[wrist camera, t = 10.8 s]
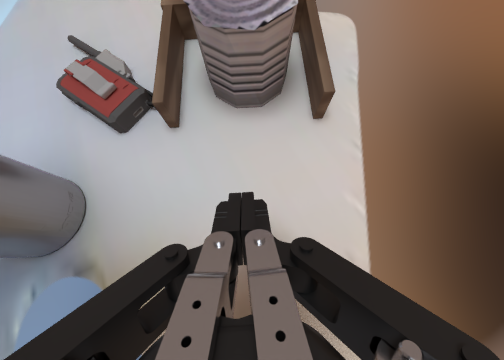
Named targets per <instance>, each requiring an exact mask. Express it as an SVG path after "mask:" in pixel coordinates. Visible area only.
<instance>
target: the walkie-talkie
mask: <svg viewBox="0 0 504 360" xmlns="http://www.w3.org/2000/svg"><path fill="white" fill-rule="evenodd" d="M68 40H69V42H71V43H72V44H74V45H76V46H77V47H79V48H81V49H82V50H84V51H85V52H87V53H89V54H90V55H92V56H89V57H85V58H83V59H82V60H81V61H79V60H77V59H76V60H75V61H74V62H73V63H72V64H70V65H69V66H68V67H67V68H66V69H64V71H65V72H66V73H65V74H63V75H62V77H60V78H59V79H58V81H57V84H56V86H57V88H58V89H59V90H61V91H62V94H64V95H65V96H66V97H67V98H69V99H70V100H72V101H74V102H75V103H76V104H77V105H79V106H80V107H83V108H85V109H86V110H88V111H89V112H91V113H92V114H93V115H95V116H97V117H98V118H99V119H101V120H102V121H103V122H105V123H106V124H108V125H109V126H111V127H112V128H114V129H115V130H117V131H118V132H119V133H126V132H128V131H129V130H130V129H131V128H132V127H133V126H134V125H135V124H136V123H137V122H138V121H139V120H140V119H141V118H142V117H143V115H144V114H145V113H146V112H147V111H148V110H149V109H150V108H151V107H155V106H154V105H153V104H152V98H153V93H151V92H150V91H148V90H146V89H145V88H143V87H142V86H140V85H138V84H137V83H135V80H134V79H133V77H132V74H131V71H130V69H129V68H128V66H127V65H126V64H125V62H124V61H122V60H121V59H119V58H117V57H116V56H114V55H112V54H111V53H110V52H109V51H108V50H104V51H103V52H100V51H97V50H95V49H94V48H92V47H90V46H89V45H87V44H85V43H84V42H82V41H80V40H79V39H77V38H75V37H74V36H72V35H70V36H68ZM93 56H94V57H93ZM150 96H151V97H152V98H151V97H150Z"/></svg>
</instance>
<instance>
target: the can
mask: <svg viewBox="0 0 504 360" xmlns="http://www.w3.org/2000/svg"><path fill="white" fill-rule="evenodd" d="M183 1H184V2H185V3H186V5H187V6H188V7H189V10H190V14H191V17H192V21H193V24H194V28H195V31H196V35H197V38H198V42H199V45H200V49H201V52H202V56H203V59H204V63H205V66H206V70H207V73H208V77H209V80H210V82H211V85H212V87H213V90H214V93H215V95H216V97H217V98H219V99H221V100H223V101H224V102H226V103H228V104H230V105H232V106H234V107H235V108H247V107H262V106H263V105H265V104H266V103H268V102H269V101H271V100H272V99H273V98H275V97H276V96H278V95H279V94H281V91H282V87H283V84H284V80H285V77H286V72H287V66H288V60H289V53H290V47H291V41H292V34H293V28H294V22H295V16H296V9H297V4H298V0H183Z"/></svg>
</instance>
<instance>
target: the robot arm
mask: <svg viewBox="0 0 504 360" xmlns="http://www.w3.org/2000/svg"><path fill="white" fill-rule="evenodd" d="M84 212H85V200H84V196H83V193H82V191H81V190H80V188H79V187H78V186H77V185H76V184H74V183H73V182H71V181H69V180H66V179H64V178H61V177H58V176H56V175H53V174H50V173H47V172H45V171H42V170H40V169H37V168H35V167H32V166H29V165H26V164H24V163H21V162H18V161H16V160H13V159H10V158H7V157H5V156H2V155H0V258H19V257H39V256H43V255H47V254H49V253H52V252H54V251H56V250H57V249H59V248H60V247H62V246H63V245H65V244H66V243H67V242H68V241H69V240H70V239H71V238H72V237H73V235H74V234H75V233H76V231H77V230H78V228H79V226H80V224H81V222H82V219H83V216H84ZM243 259H244V265H247V273H248V284H249V294H250V304H251V314H252V315H249V316H246V317H243V318H240V319H233V314H234V306H235V297H236V289H237V281H238V277H237V275H238V265H243ZM164 286H165V288H164V289H163V290H162V291H161V292H160V293H158V294H157V295H156V296H155V297H154V298H153V299H151V300H150V301H149V302H148V303H147V304H146V305H144V306H143V307H142V308H141V306H142V305H143V304H144V303H146V302H147V301H148V300H149V299H150V298H151V297H153V296H154V295H155V294H156V293H157V292H159V291H160V290H161V289H162V288H163V287H164ZM295 299H296V300H297V301H298V302H299V303H301V304H302V305H303V306H304V307H305V308H306V309H307V310H308V311H309V312H310V313H311V314H312V315H314V316H315V317H316V318H317V319H318V320H319V321H320V322H321V323H322V324H323V325H324V326H326V327H327V328H328V329H329V330H330V331H331V332H332V333H333V334H334V335H335V336H336V337H338V338H339V339H340V340H341V341H342V342H343V343H344V344H345V345H346V346H347V347H348V348H350V349H351V350H352V351H353V352H354V353H355V354H356V355H357V356H358V357H359V358H360V359H361V360H500V359H499V358H498V357H497V356H496V355H495V354H494V353H493V352H492V351H491V350H489V349H488V348H487V347H486V346H484V345H483V344H481V343H480V342H478V341H477V340H475V339H474V338H472V337H470V336H469V335H467V334H466V333H464V332H462V331H461V330H459V329H457V328H456V327H454V326H453V325H451V324H449V323H448V322H446V321H444V320H443V319H441V318H440V317H438V316H436V315H435V314H433V313H432V312H430V311H428V310H427V309H425V308H424V307H422V306H420V305H418V304H417V303H415V302H414V301H412V300H411V299H409V298H407V297H406V296H404V295H402V294H401V293H399V292H398V291H396V290H394V289H393V288H391V287H390V286H388V285H386V284H385V283H383V282H382V281H380V280H378V279H377V278H375V277H373V276H372V275H370V274H369V273H367V272H365V271H364V270H362V269H361V268H359V267H357V266H356V265H354V264H352V263H351V262H349V261H348V260H346V259H344V258H343V257H341V256H340V255H338V254H336V253H335V252H333V251H331V250H330V249H328V248H327V247H325V246H323V245H322V244H320V243H319V242H317V241H315V240H313V239H311V238H307V237H300V238H297V239H295V240H293V241H292V243H286V242H282V241H279V240H277V239H276V238H275V237H274V236H273V235H272V233H271V228H270V222H269V216H268V210H267V204H266V203H265V202H264V201H263V200H262V199H260V200H254V193H253V192H243V193H242V197H241V193H229V199H228V201H224V202H220V204H219V205H218V206H217V208H216V213H215V218H214V222H213V227H212V232H211V234H210V235H209V236H208V237H207V238H206V239H205V241H204V244H203V245H201V246H199V247H196V248H193V249H189V250H187V248H186V247H185V246H184V245H182V244H172V245H169V246H166V247H165V248H163V249H162V250H160V251H159V252H157V253H156V254H154V255H153V256H151V257H150V258H149V259H147V260H146V261H144V262H143V263H141V264H140V265H139V266H137V267H136V268H134V269H133V270H131V271H130V272H129V273H127V274H126V275H124V276H123V277H121V278H120V279H119V280H117V281H116V282H114V283H113V284H111V285H110V286H109V287H107V288H106V289H104V290H103V291H101V292H100V293H99V294H97V295H96V296H94V297H93V298H91V299H90V300H88V301H87V302H86V303H84V304H83V305H81V306H80V307H78V308H77V309H76V310H74V311H73V312H71V313H70V314H68V315H67V316H66V317H64V318H63V319H61V320H60V321H58V322H57V323H56V324H54V325H53V326H52V327H50V328H48V329H47V330H46V331H44V332H43V333H41V334H40V335H38V336H37V337H36V338H34V339H33V340H31V341H30V342H28V343H27V344H25V345H24V346H23V347H21V348H20V349H18V350H17V351H15V352H14V353H13V354H11V355H10V356H8V357H7V358H5V359H4V360H136V359H137V358H138V357H139V356H140V355H141V354H142V353H143V352H144V351H145V350H146V349H147V348H148V347H149V346H150V345H151V344H152V343H153V341H154V340H155V339H156V338H157V337H158V336H159V335H160V334H161V333H162V332H163V331H164V330H165V329H166V328H167V329H166V332H165V334H164V335H163V336H162V337H160V338H159V339H158V340H157V341H156V342H155V343H154V344H153V345H152V346H151V347H150V348H149V349H148V350H147V351H146V352H145V353H144V354H143V355H142V356H141V358H140V359H139V360H346V359H345V358H344V357H343V356H342V355H341V354H340V353H339V352H338V351H337V350H336V349H335V348H334V347H333V346H332V345H331V344H330V343H329V342H328V341H327V340H326V339H325V338H324V337H323V336H322V335H321V334H320V333H319V332H317V331H316V330H315V329H314V328H312V327H311V326H309V325H308V324H306V323H304V322H302V321H301V318H300V315H299V311H298V308H297V305H296V301H295ZM140 308H141V309H140ZM139 309H140V310H139Z"/></svg>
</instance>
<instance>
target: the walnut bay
mask: <svg viewBox="0 0 504 360" xmlns="http://www.w3.org/2000/svg"><path fill="white" fill-rule="evenodd" d="M315 1H316V0H298V4H297V9H296V16H295V22H294V28H293V32H299V38H300V44H301V50H302V56H303V62H304V68H305V74H306V79H307V85H308V91H309V97H310V103H311V109H312V115H313V119H318V118H323V116H324V114H325V111H326V109H327V107H328V105H329V103H330V101H331V99H332V97H333V95H334V93H335V88H334V83H333V79H332V74H331V70H330V65H329V61H328V56H327V51H326V47H325V42H324V38H323V33H322V29H321V24H320V20H319V15H318V11H317V6H316V2H315ZM161 7H162V10H163V15H162V23H161V31H160V40H159V48H158V57H157V65H156V74H155V82H154V90H153V99H152V104H153V105H154V106H155V108H156V109H157V111H158V112H159V113H160V115H161V116H162V117H163V119H164V120H165V122H166V123H167V124H168V126H169V127H170V128H173V127H179V117H180V102H181V87H182V72H183V57H184V42H185V39H198V38H197V35H196V31H195V28H194V24H193V21H192V17H191V14H190V10H189V7H188V6H187V5H186V3H185V2H184V1H183V0H161Z"/></svg>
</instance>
